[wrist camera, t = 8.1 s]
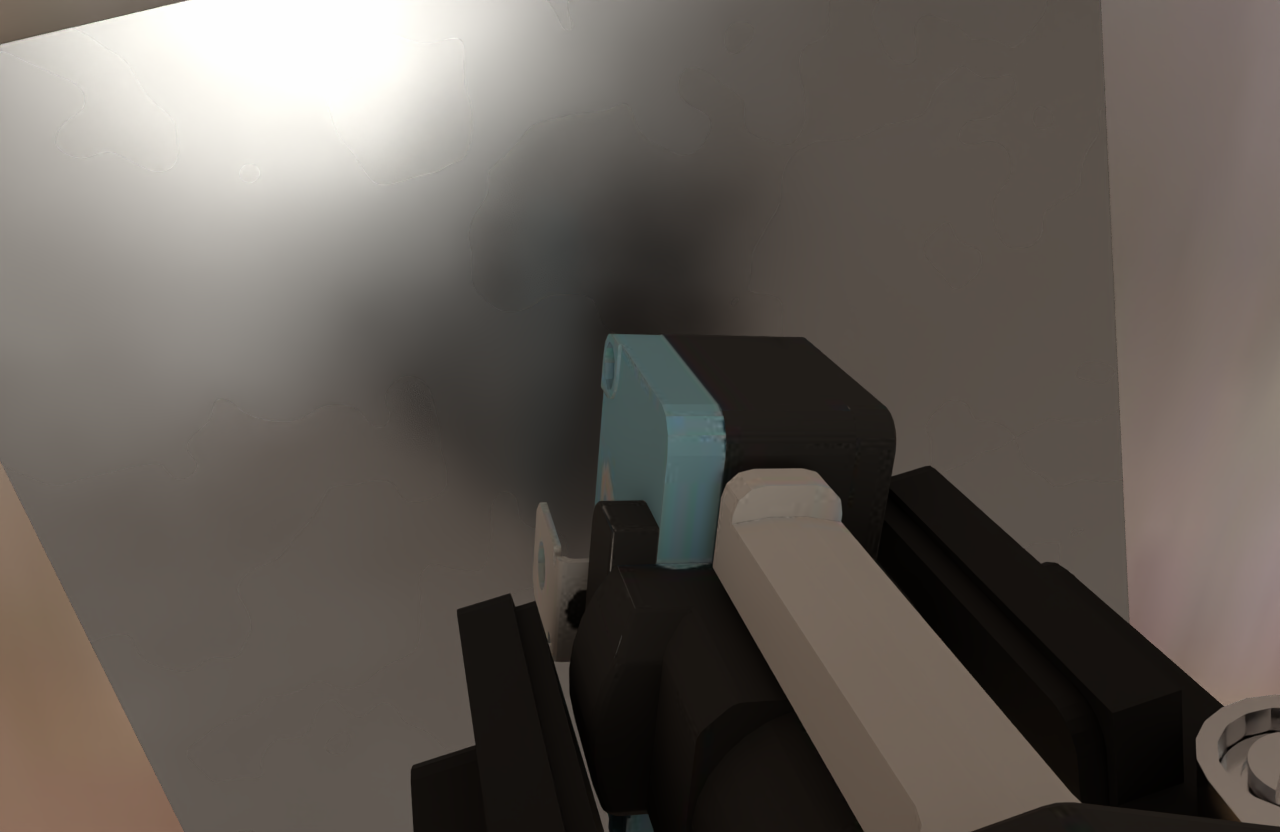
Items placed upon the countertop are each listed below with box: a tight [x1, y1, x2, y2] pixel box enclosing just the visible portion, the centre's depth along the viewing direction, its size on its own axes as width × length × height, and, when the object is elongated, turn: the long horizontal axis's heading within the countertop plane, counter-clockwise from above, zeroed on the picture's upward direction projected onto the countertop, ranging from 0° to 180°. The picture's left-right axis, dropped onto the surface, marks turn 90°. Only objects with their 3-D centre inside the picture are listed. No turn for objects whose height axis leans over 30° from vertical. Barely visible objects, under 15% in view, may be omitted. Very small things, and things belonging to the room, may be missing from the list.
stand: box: [0, 0, 1129, 832], centre depth 18 cm, size 14×14×6 cm
